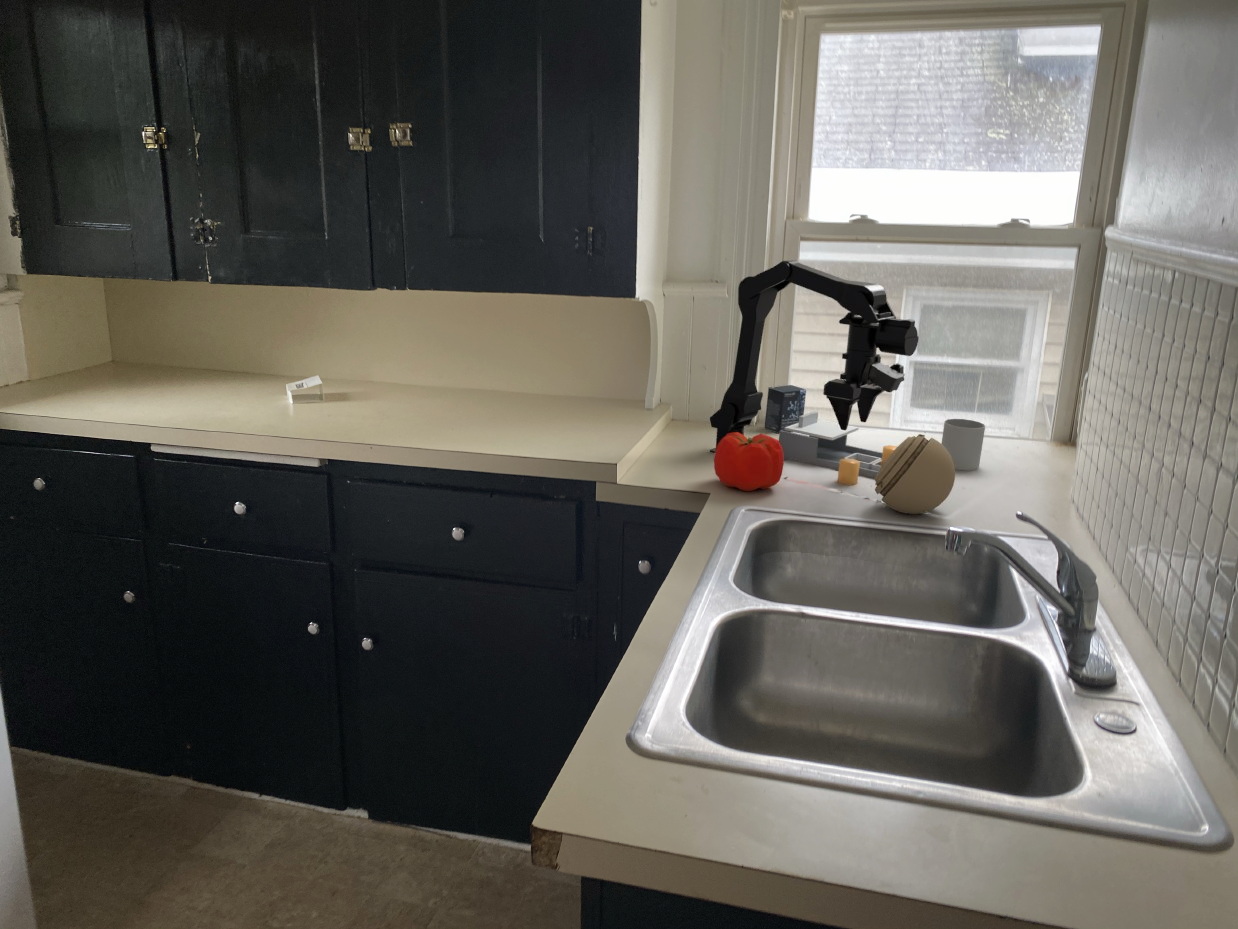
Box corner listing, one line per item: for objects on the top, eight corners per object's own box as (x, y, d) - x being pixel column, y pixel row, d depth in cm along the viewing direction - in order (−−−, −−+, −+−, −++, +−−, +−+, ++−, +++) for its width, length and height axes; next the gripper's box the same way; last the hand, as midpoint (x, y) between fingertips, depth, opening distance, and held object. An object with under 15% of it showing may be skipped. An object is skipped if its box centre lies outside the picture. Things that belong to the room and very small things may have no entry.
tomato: (705, 490, 189) (708, 439, 186) (723, 472, 201) (726, 424, 198) (773, 501, 184) (777, 448, 181) (787, 482, 196) (792, 433, 193)
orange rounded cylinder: (851, 489, 193) (854, 465, 192) (833, 484, 196) (836, 461, 194) (860, 484, 196) (863, 461, 195) (842, 480, 199) (845, 457, 197)
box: (779, 434, 233) (783, 391, 230) (763, 428, 238) (767, 386, 235) (803, 430, 238) (807, 388, 234) (787, 425, 242) (791, 384, 239)
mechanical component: (916, 496, 191) (926, 423, 186) (966, 521, 177) (978, 443, 173) (852, 502, 186) (860, 427, 181) (898, 528, 172) (909, 448, 168)
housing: (888, 484, 197) (892, 455, 196) (777, 457, 213) (779, 430, 211) (917, 469, 209) (921, 442, 207) (809, 445, 224) (812, 419, 222)
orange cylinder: (894, 474, 202) (897, 452, 201) (877, 470, 204) (879, 448, 203) (902, 470, 205) (905, 448, 204) (885, 466, 207) (887, 444, 206)
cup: (980, 465, 213) (986, 422, 211) (976, 475, 206) (983, 430, 203) (940, 459, 217) (946, 416, 214) (936, 469, 210) (942, 424, 207)
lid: (832, 440, 205) (833, 426, 204) (784, 430, 212) (785, 416, 211) (858, 430, 214) (859, 417, 213) (811, 420, 221) (813, 407, 220)
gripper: (881, 360, 177) (872, 441, 181) (919, 348, 191) (910, 424, 195) (825, 352, 183) (818, 431, 188) (866, 341, 198) (859, 415, 202)
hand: (853, 425), depth 193 cm, fingers open, 9 cm apart
